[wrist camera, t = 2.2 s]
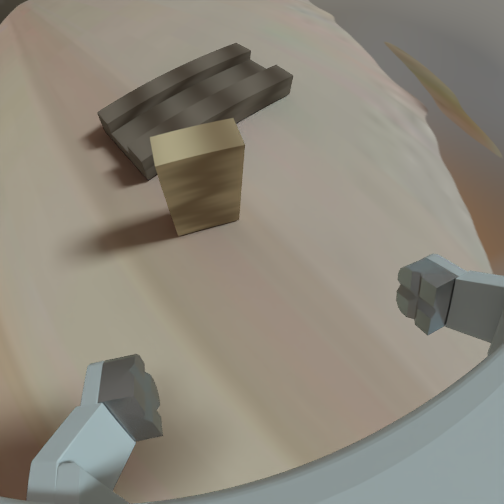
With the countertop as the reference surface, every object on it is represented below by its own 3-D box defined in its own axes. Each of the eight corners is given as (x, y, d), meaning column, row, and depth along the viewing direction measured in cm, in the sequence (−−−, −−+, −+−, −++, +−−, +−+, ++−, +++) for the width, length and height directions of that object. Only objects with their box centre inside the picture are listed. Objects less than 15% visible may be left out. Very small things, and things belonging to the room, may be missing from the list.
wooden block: (178, 236, 26) (155, 166, 17) (172, 211, 27) (149, 136, 18) (239, 219, 27) (244, 144, 18) (230, 195, 28) (233, 117, 19)
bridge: (148, 180, 28) (141, 161, 25) (104, 130, 30) (97, 112, 27) (289, 93, 34) (293, 75, 31) (235, 60, 36) (236, 42, 33)
